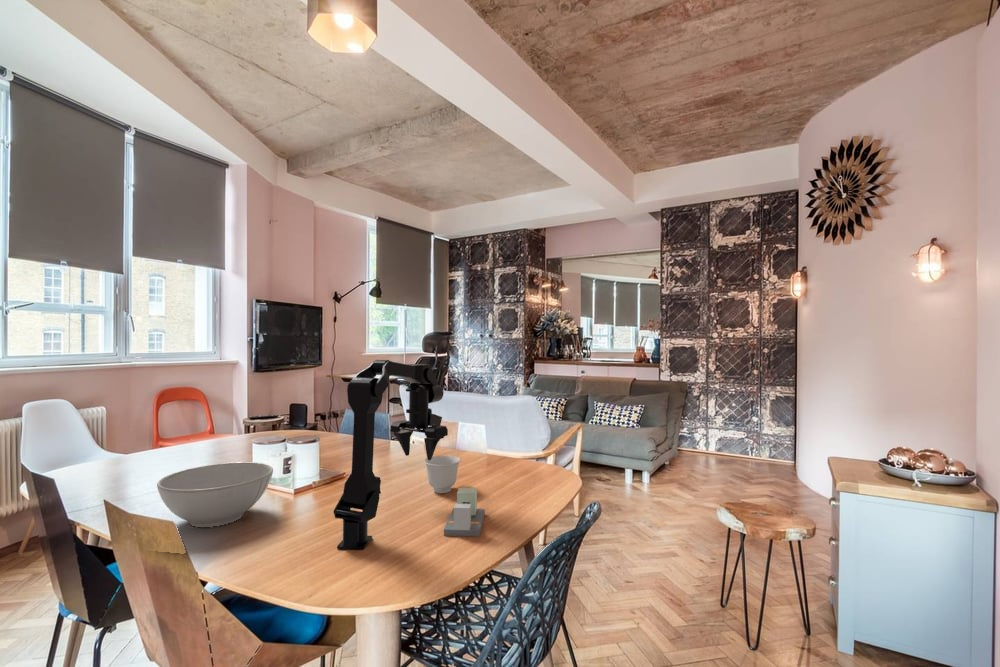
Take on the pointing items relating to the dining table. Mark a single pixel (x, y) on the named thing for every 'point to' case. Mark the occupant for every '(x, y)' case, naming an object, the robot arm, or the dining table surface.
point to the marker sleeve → (468, 498)
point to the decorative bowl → (215, 491)
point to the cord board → (466, 533)
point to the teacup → (442, 472)
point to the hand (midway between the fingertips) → (418, 457)
